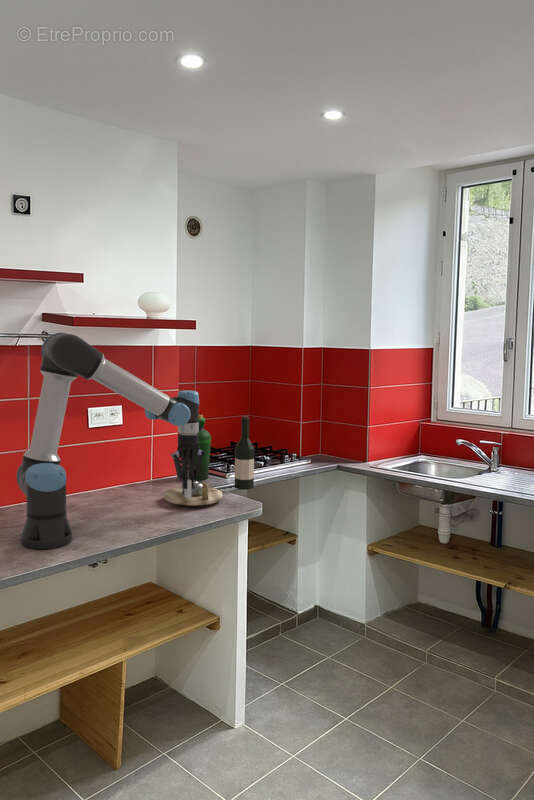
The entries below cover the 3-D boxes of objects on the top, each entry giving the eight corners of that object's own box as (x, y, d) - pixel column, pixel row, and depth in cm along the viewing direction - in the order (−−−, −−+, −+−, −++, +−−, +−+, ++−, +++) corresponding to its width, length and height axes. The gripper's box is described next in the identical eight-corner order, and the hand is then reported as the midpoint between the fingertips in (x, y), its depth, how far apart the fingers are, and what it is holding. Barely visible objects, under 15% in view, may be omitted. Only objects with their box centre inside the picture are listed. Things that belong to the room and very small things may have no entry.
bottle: (212, 476, 291) (213, 413, 288) (208, 481, 281) (209, 417, 277) (189, 474, 292) (190, 412, 289) (183, 480, 282) (184, 416, 278)
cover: (188, 497, 244) (188, 485, 244) (178, 492, 252) (178, 480, 251) (209, 495, 249) (210, 483, 249) (199, 489, 257) (199, 478, 256)
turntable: (179, 508, 236) (180, 488, 235) (155, 494, 254) (155, 475, 253) (232, 500, 248) (233, 481, 247) (205, 487, 266) (205, 469, 265)
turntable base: (183, 509, 240) (183, 505, 240) (165, 498, 253) (165, 495, 253) (221, 503, 249) (221, 500, 249) (202, 493, 262) (202, 490, 262)
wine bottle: (256, 485, 277) (258, 415, 273) (250, 490, 269) (252, 418, 265) (237, 483, 279) (239, 414, 275) (231, 488, 271) (232, 417, 267)
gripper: (176, 436, 230) (175, 501, 233) (209, 433, 237) (208, 497, 240) (167, 433, 236) (167, 496, 239) (199, 430, 243) (199, 492, 246)
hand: (187, 496), depth 239 cm, fingers closed
